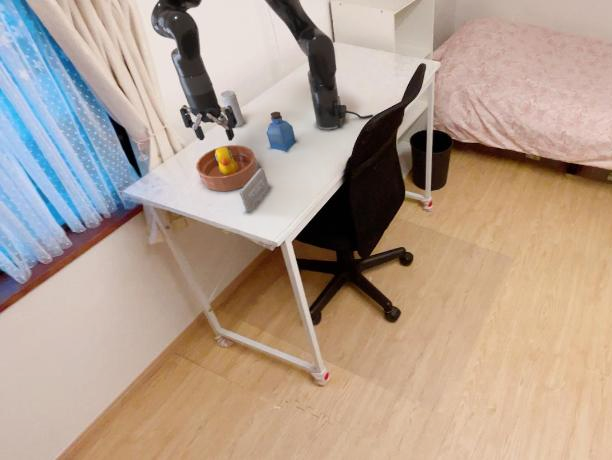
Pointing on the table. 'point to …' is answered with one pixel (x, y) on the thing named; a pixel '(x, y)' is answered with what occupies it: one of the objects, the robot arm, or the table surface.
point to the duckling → (226, 161)
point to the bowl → (220, 182)
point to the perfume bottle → (280, 133)
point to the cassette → (254, 190)
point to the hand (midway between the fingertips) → (217, 139)
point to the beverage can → (233, 105)
